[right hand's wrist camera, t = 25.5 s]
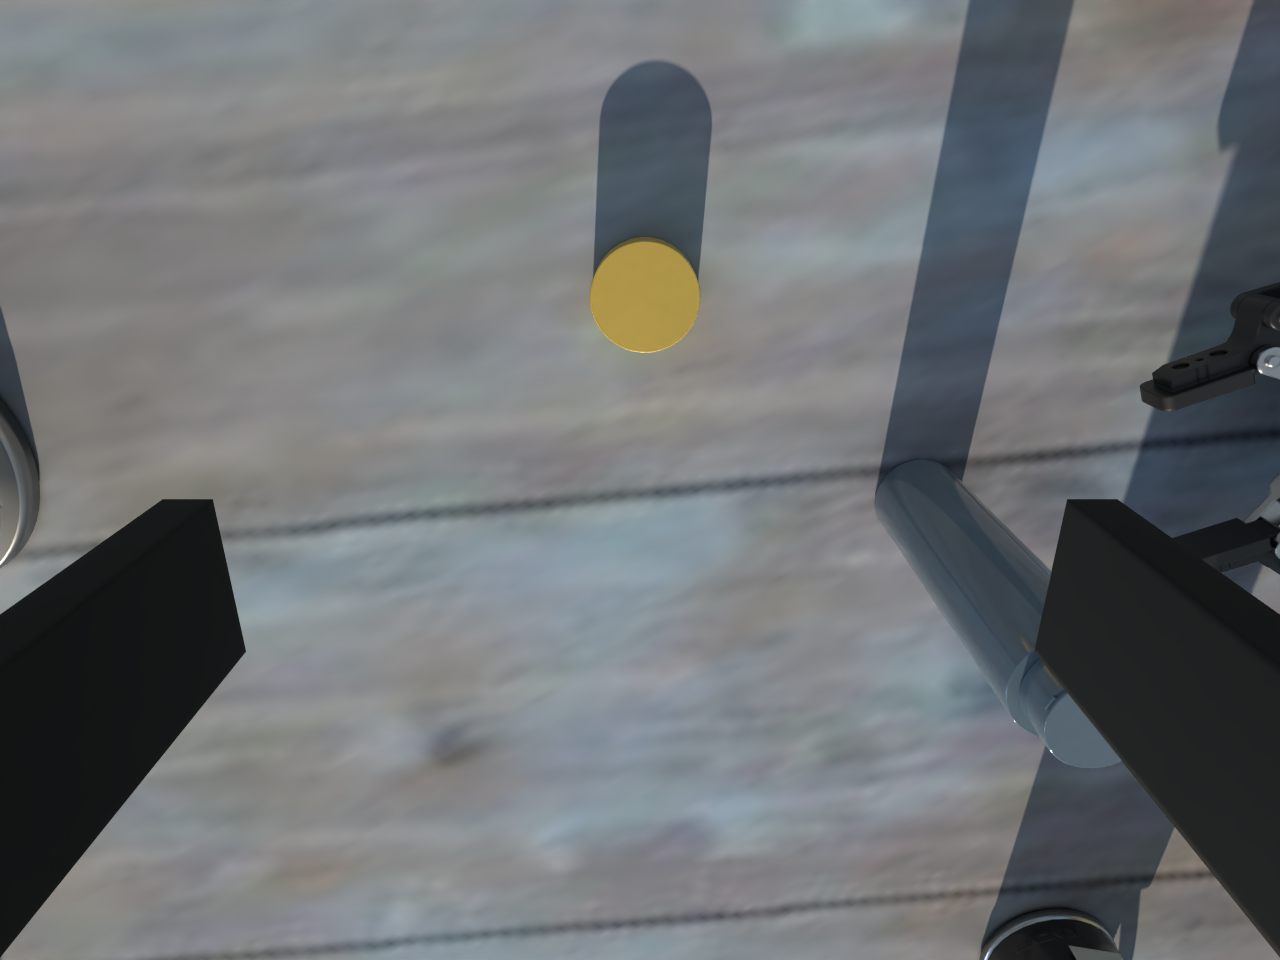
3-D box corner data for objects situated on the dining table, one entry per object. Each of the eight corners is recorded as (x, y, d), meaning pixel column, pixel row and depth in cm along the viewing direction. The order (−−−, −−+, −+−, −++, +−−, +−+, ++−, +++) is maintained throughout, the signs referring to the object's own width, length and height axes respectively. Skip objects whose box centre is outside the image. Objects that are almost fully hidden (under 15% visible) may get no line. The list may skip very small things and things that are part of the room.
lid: (570, 284, 40) (567, 291, 38) (651, 213, 38) (652, 216, 36) (638, 363, 41) (638, 374, 39) (718, 298, 40) (722, 305, 38)
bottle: (974, 476, 44) (1203, 692, 26) (932, 547, 45) (1119, 795, 28) (900, 446, 43) (1082, 646, 25) (859, 519, 45) (1003, 754, 27)
